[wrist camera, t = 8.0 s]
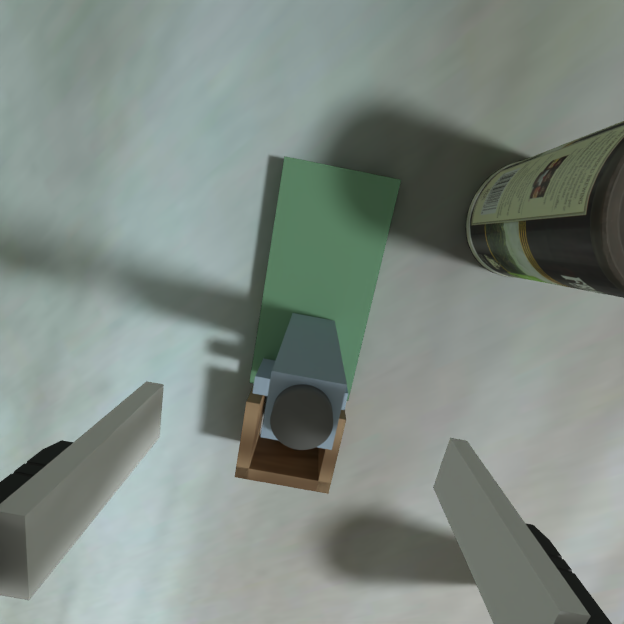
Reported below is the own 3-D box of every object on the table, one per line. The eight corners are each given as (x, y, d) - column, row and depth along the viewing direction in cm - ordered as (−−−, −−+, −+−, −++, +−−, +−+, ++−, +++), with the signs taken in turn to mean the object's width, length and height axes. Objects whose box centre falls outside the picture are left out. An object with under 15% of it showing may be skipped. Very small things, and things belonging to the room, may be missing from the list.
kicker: (271, 308, 29) (228, 372, 15) (355, 324, 29) (388, 401, 15) (261, 373, 30) (213, 484, 17) (341, 388, 30) (358, 509, 17)
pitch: (286, 160, 27) (284, 156, 26) (396, 182, 28) (401, 179, 26) (252, 376, 32) (249, 382, 31) (346, 393, 32) (348, 400, 31)
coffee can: (570, 276, 29) (795, 309, 15) (460, 277, 29) (583, 311, 16) (591, 157, 27) (879, 71, 13) (471, 160, 27) (628, 78, 13)
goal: (257, 376, 32) (246, 401, 27) (342, 392, 32) (346, 419, 27) (246, 443, 34) (234, 477, 29) (327, 457, 34) (328, 493, 29)
